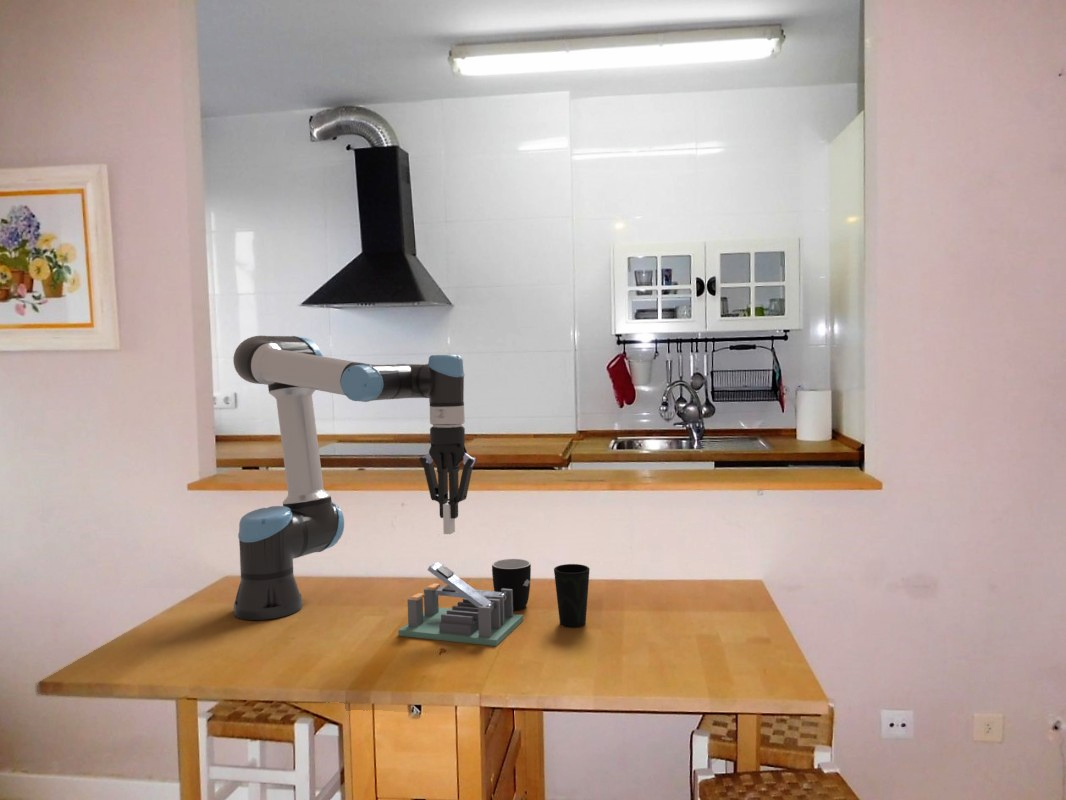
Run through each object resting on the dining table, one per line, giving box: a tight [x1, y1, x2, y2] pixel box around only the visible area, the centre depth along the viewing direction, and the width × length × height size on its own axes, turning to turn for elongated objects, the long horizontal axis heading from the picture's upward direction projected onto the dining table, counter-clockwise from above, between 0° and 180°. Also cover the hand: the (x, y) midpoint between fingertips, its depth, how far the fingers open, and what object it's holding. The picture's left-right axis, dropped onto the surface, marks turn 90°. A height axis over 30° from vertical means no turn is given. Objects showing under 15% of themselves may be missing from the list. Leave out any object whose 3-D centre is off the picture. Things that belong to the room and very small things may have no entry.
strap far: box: [436, 585, 509, 601], centre depth 166 cm, size 16×4×2 cm, turn 71°
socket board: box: [397, 583, 524, 647], centre depth 163 cm, size 22×16×8 cm
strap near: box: [427, 561, 496, 611], centre depth 159 cm, size 16×4×2 cm
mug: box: [491, 558, 532, 612], centre depth 179 cm, size 12×9×10 cm
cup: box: [553, 563, 591, 629], centre depth 165 cm, size 8×8×12 cm
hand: (449, 532), depth 167 cm, fingers closed
